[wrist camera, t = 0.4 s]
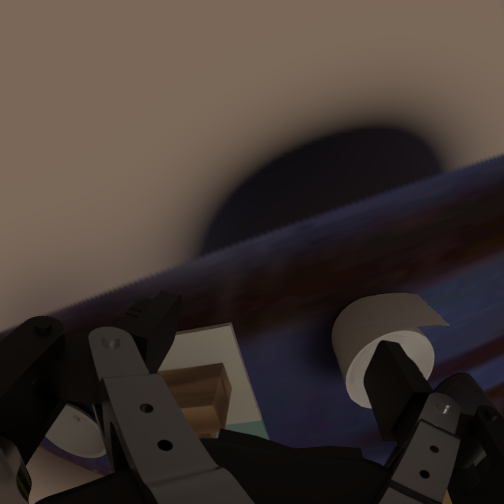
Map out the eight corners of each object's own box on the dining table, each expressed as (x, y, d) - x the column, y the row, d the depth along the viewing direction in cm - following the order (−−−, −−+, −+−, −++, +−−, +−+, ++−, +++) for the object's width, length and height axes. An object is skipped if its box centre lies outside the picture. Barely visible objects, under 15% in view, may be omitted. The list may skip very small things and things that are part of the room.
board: (114, 341, 43) (111, 344, 42) (230, 322, 41) (230, 325, 40) (184, 470, 50) (183, 473, 49) (278, 463, 48) (278, 467, 47)
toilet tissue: (320, 357, 42) (331, 404, 32) (349, 277, 39) (372, 310, 29) (387, 368, 42) (409, 411, 32) (419, 293, 39) (454, 326, 29)
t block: (139, 372, 43) (116, 411, 34) (222, 362, 41) (212, 405, 33) (167, 427, 45) (153, 467, 37) (244, 421, 44) (240, 465, 35)
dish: (68, 439, 51) (58, 454, 46) (32, 386, 48) (18, 400, 43) (132, 442, 49) (123, 460, 44) (93, 382, 45) (80, 399, 41)
